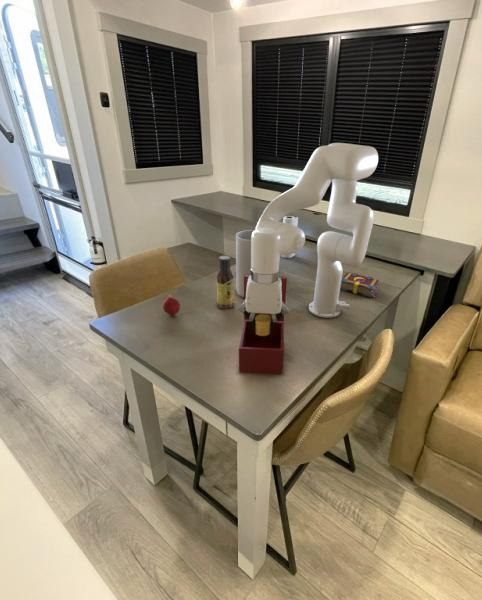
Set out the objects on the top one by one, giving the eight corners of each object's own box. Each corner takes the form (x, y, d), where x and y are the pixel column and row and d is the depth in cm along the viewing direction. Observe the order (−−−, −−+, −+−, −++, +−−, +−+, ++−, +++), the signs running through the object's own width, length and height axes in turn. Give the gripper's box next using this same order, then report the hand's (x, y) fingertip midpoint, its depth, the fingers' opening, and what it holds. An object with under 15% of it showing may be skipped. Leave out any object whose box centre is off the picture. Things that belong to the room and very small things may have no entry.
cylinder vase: (241, 301, 133) (241, 241, 121) (233, 287, 143) (232, 231, 130) (270, 296, 137) (272, 239, 125) (260, 283, 147) (261, 229, 135)
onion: (184, 313, 122) (182, 294, 118) (174, 320, 117) (172, 301, 114) (170, 309, 124) (168, 290, 120) (160, 317, 119) (158, 297, 115)
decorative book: (346, 280, 156) (347, 270, 154) (379, 288, 151) (381, 278, 148) (338, 289, 147) (339, 279, 145) (373, 299, 142) (376, 288, 139)
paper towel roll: (280, 257, 176) (282, 217, 166) (282, 253, 181) (284, 215, 171) (293, 259, 175) (296, 219, 165) (295, 255, 180) (298, 216, 170)
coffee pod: (271, 327, 100) (271, 314, 98) (270, 336, 96) (271, 323, 94) (255, 326, 100) (255, 313, 98) (254, 335, 96) (254, 322, 93)
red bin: (282, 374, 97) (283, 350, 92) (239, 372, 96) (238, 348, 92) (282, 344, 109) (283, 322, 105) (244, 342, 109) (244, 320, 105)
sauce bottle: (230, 310, 126) (229, 262, 116) (215, 307, 127) (212, 259, 117) (236, 302, 132) (235, 255, 122) (221, 300, 132) (219, 253, 123)
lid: (286, 278, 96) (286, 270, 101) (243, 276, 96) (245, 267, 101) (283, 321, 105) (283, 311, 109) (244, 319, 104) (245, 309, 109)
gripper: (295, 271, 93) (290, 325, 101) (234, 267, 92) (235, 322, 101) (296, 282, 86) (291, 339, 95) (231, 279, 85) (232, 336, 94)
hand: (262, 330), depth 98 cm, fingers closed on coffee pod, 4 cm apart
